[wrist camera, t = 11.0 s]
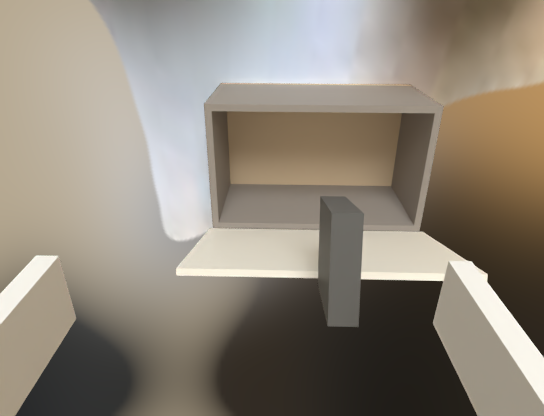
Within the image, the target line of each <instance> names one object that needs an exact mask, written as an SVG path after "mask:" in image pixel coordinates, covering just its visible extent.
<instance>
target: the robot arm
mask: <svg viewBox="0 0 544 416" xmlns="http://www.w3.org/2000/svg"><path fill="white" fill-rule="evenodd" d="M75 320H76V316H75V313H74V309H73V305H72V302H71V298H70V295H69V291H68V287H67V284H66V280H65V277H64V273H63V269H62V266H61V262H60V259H59V256H35V257H34V258H33V260H32V261H31V262H30V263H29V264H28V265H27V266H26V267H25V268H24V269H23V270H22V271H21V272H20V273H19V274H18V275H17V277H16V278H15V279H14V280H13V281H12V282H11V283H10V284H9V285H8V286H7V287H6V288H5V289H4V290H3V291H2V293H0V416H15V415H16V413H17V412H18V410H19V408H20V407H21V405H22V404H23V402H24V400H25V399H26V397H27V396H28V394H29V392H30V391H31V389H32V388H33V386H34V385H35V383H36V381H37V380H38V378H39V377H40V375H41V373H42V372H43V370H44V369H45V367H46V366H47V364H48V362H49V360H50V359H51V358H52V356H53V354H54V353H55V351H56V350H57V348H58V346H59V345H60V343H61V342H62V340H63V339H64V337H65V335H66V334H67V332H68V331H69V329H70V327H71V326H72V324H73V323H74V321H75ZM433 325H434V327H435V329H436V331H437V333H438V335H439V337H440V339H441V341H442V343H443V345H444V347H445V349H446V351H447V353H448V355H449V357H450V359H451V361H452V364H453V365H454V367H455V370H456V372H457V374H458V376H459V378H460V380H461V382H462V384H463V386H464V388H465V390H466V392H467V394H468V397H469V399H470V401H471V403H472V405H473V407H474V409H475V411H476V413H477V415H478V416H544V356H542V355H541V353H540V352H539V351H538V349H537V348H536V347H535V345H534V344H533V343H532V342H531V340H530V339H529V337H528V336H527V335H526V333H525V332H524V331H523V329H522V328H521V327H520V325H519V324H518V323H517V321H516V320H515V319H514V317H513V316H512V315H511V313H510V312H509V311H508V309H507V308H506V307H505V305H504V304H503V303H502V301H501V300H500V299H499V297H498V296H497V295H496V293H495V292H494V291H493V290H492V288H491V287H490V285H489V284H488V283H487V281H486V280H485V279H484V277H483V276H482V275H481V273H480V272H479V271H478V269H477V268H476V267H475V265H474V264H473V263H472V261H448V265H447V269H446V273H445V277H444V281H443V285H442V289H441V293H440V297H439V301H438V305H437V309H436V313H435V317H434V321H433Z"/></svg>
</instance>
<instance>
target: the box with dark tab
mask: <svg viewBox="0 0 544 416" xmlns="http://www.w3.org/2000/svg"><path fill="white" fill-rule="evenodd" d="M363 225H364V213H363V212H362V211H361V210H360V209H359V208H357V207H356V206H355V205H354V204H353V203H352V202H351V201H350V200H349V199H347V198H346V197H345V196H320V225H319V230H284V229H225V228H210V229H209V230H208V231H207V232H206V233H205V235H204V236H203V237H202V238H201V239H200V241H199V242H198V243H197V244H196V245H195V246H194V248H193V249H192V250H191V251H190V252H189V254H188V255H187V256H186V257H185V258H184V260H183V261H182V262H181V263H180V264H179V266H178V267H177V269H176V275H181V276H182V275H183V276H232V277H233V276H234V277H284V278H318V288H319V292H320V296H321V301H322V305H323V309H324V313H325V317H326V322H327V325H328V326H341V327H342V326H344V327H358V326H359V306H360V305H359V304H360V285H361V279H380V280H382V279H383V280H431V281H444V277H445V273H446V269H447V265H448V261H466V260H465V259H463V258H462V257H460V256H459V255H457V254H456V253H454V252H453V251H451V250H450V249H448V248H447V247H445V246H443V245H442V244H441V243H439V242H437V241H436V240H434V239H433V238H431V237H430V236H428V235H427V234H425V233H424V232H401V231H363ZM475 267H476V266H475ZM476 268H477V267H476ZM477 269H478V271H479V272H480V273H481V275H482V276H483V277H484V279H485V280H486V281H487V274H486V273H485V272H483V271H482V270H480V269H479V268H477Z"/></svg>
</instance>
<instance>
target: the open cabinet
mask: <svg viewBox="0 0 544 416" xmlns="http://www.w3.org/2000/svg"><path fill="white" fill-rule="evenodd" d="M443 107H444V106H442V105H441V104H439V103H438V102H436V101H435V100H433V99H432V98H430V97H429V96H427V95H426V94H424V93H423V92H421V91H419V90H418V89H416V88H415V87H413V86H412V85H400V84H273V83H221V84H220V85H219V86H218V87H217V88H216V90H215V91H214V92H213V93H212V95H211V96H210V97H209V98H208V100H207V101H206V102H205V103H204V112H205V126H206V139H207V153H208V166H209V180H210V194H211V207H212V221H213V228H255V229H314V230H319V225H320V196H345V197H346V198H347V199H349V200H350V201H351V202H352V203H353V204H354V205H355V206H356V207H357V208H359V209H360V210H361V211H362V212H363V213H364V225H363V230H373V231H419V230H420V225H421V220H422V215H423V210H424V205H425V199H426V194H427V189H428V184H429V179H430V174H431V168H432V164H433V158H434V153H435V148H436V143H437V138H438V132H439V127H440V122H441V117H442V112H443Z"/></svg>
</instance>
